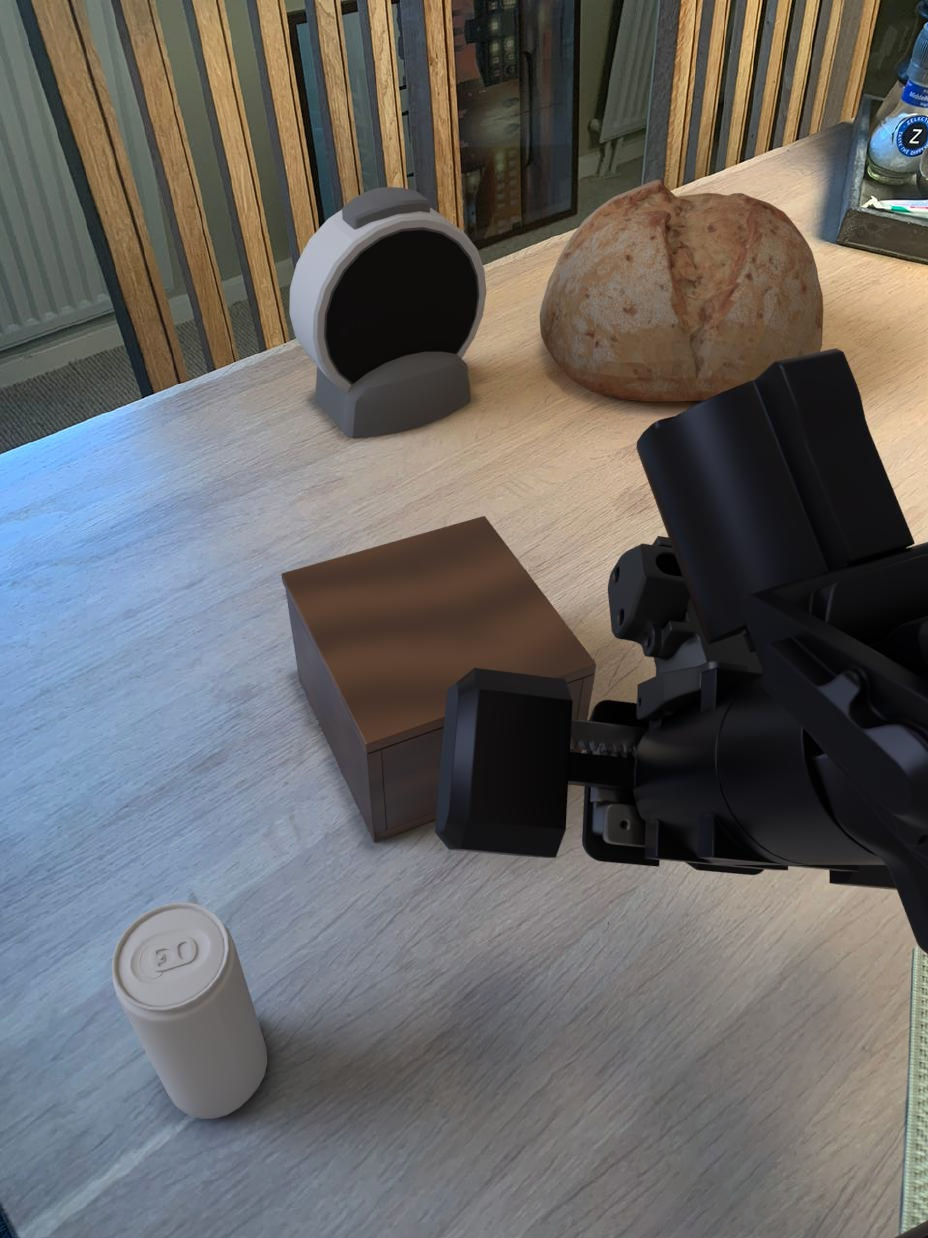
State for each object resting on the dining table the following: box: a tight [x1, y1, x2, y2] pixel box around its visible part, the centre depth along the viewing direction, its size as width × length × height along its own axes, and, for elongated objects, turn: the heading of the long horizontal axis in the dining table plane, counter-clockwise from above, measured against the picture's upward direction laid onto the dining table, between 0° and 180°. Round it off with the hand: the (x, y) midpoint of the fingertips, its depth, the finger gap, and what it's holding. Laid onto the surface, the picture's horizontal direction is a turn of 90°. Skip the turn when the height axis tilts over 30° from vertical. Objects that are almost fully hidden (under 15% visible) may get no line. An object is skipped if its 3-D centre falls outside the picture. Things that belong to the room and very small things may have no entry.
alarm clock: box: [289, 186, 487, 439], centre depth 83 cm, size 16×10×18 cm, turn 121°
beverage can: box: [111, 901, 268, 1120], centre depth 44 cm, size 5×5×12 cm
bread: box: [538, 179, 824, 402], centre depth 91 cm, size 26×23×15 cm
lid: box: [280, 515, 597, 753], centre depth 57 cm, size 14×14×1 cm
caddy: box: [285, 590, 596, 844], centre depth 60 cm, size 14×14×8 cm
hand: (613, 798), depth 44 cm, fingers closed
